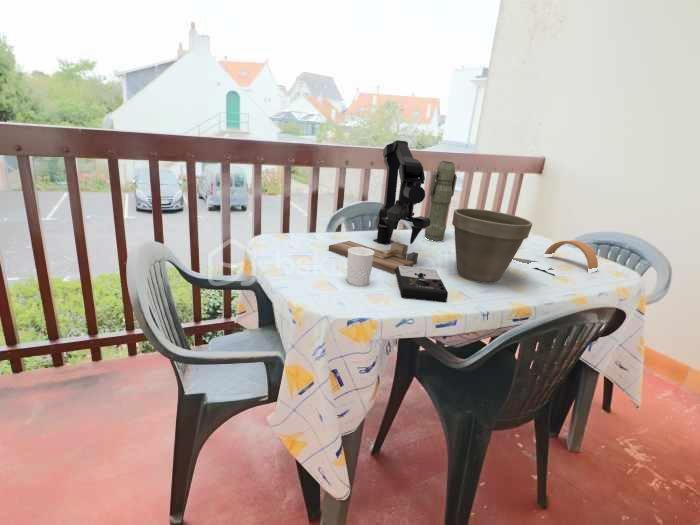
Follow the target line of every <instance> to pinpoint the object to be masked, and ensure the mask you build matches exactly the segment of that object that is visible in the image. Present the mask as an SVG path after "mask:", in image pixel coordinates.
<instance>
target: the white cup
mask: <svg viewBox="0 0 700 525" xmlns="http://www.w3.org/2000/svg"><path fill="white" fill-rule="evenodd" d="M373 258H374V251H373V250H371V249H368V248H363V247H352V248H349V249H348V257H347V263H346V264H347V265H346V266H347V268H346V271H347V273H346V274H347V276H346V281H347V283H349V284H350V285H353V286H355V287H356V286H357V287H359V286H360V287H364V286H367V285H369V284H370V283H369V282H370V277H371V275H372V274H371V273H372V268H373V267H372V263H373Z"/></svg>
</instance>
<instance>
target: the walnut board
mask: <svg viewBox="0 0 700 525" xmlns="http://www.w3.org/2000/svg"><path fill="white" fill-rule="evenodd" d="M352 247H363V248H368V249H371V250H373V251H374V258H373V263H372V268H375V269H377V270H381V271H384V272H386V273H389V274H392V275H396V270H397V266H408V267H414V265H417V264H418V258H419V252H414V251H413V252H409V253H407V257H406V259H403V258H400V257H397V256H394V255H392V256H389V257H386V258H384V257H385V256H383V252H384V251H382V250H378V249H376V248H372V247H371V246H370V247H369V246H366V245H363V244H361V243H359V242H358V243H357V242H354V241H353V240H352V241H351V240H346V241H341V242H338V243H334V244H330V245H328V250H327V251H329V252H331V253H334V254H337V255H340V256H342V257H346V258H348V249H349V248H352Z"/></svg>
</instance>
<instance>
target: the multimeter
mask: <svg viewBox="0 0 700 525" xmlns="http://www.w3.org/2000/svg"><path fill="white" fill-rule="evenodd" d="M395 276H396V280H397V284H398V289H399V293H400V294H399V295H400V297H401V298H402V299H408V300H417V301H418V300H419V301H427V302H438V303H447V300H448V297H449V296H448V295H449V292H448V289H447V288H446V286H445V284H444V282H443V281H442V279H441V277H440V275H439V273H438V272H437V269H434V268H427V267H417V266H413V267H408V266H397V270H396V274H395Z"/></svg>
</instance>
